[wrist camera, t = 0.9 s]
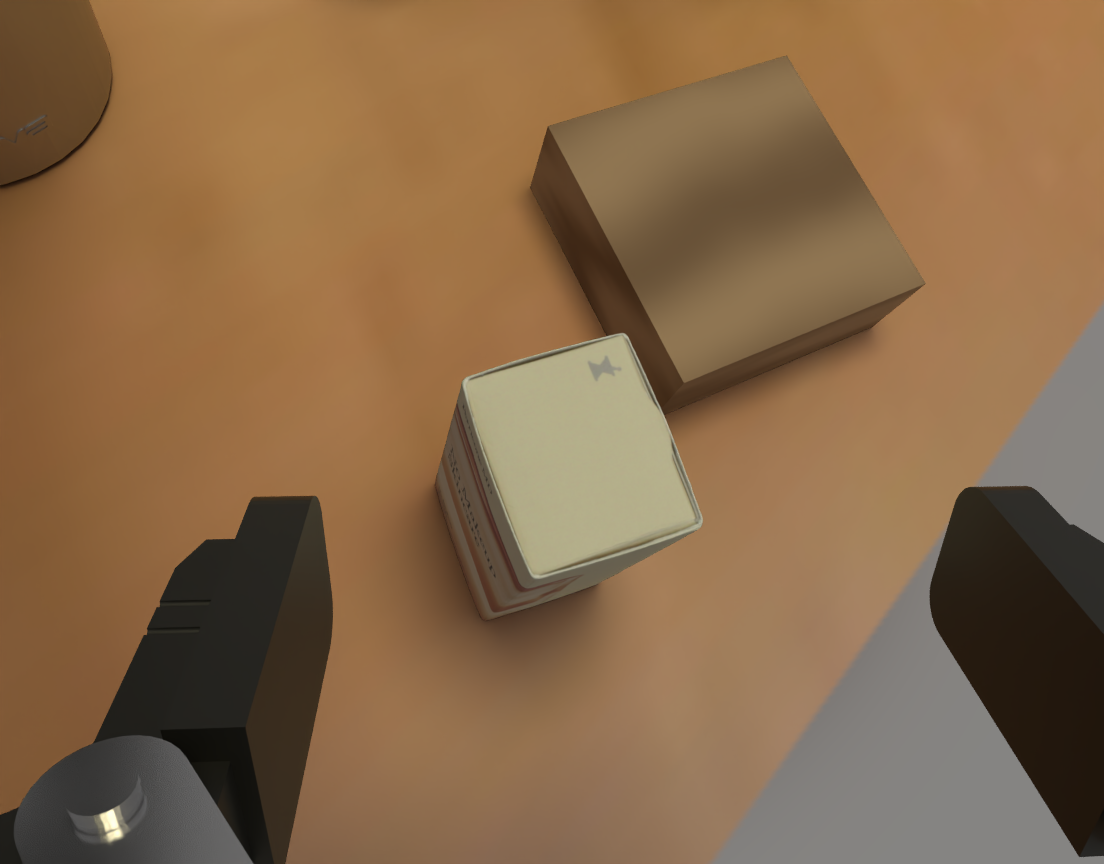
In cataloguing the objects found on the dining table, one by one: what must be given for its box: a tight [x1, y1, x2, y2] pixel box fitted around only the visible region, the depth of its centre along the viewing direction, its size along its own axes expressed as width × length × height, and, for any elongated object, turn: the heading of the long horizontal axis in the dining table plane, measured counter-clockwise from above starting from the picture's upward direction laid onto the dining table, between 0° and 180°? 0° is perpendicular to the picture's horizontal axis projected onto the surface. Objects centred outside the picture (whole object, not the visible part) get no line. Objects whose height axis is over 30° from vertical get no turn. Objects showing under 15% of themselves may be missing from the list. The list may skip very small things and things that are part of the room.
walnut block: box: [530, 56, 926, 415], centre depth 33 cm, size 10×10×4 cm
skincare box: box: [435, 333, 703, 620], centre depth 25 cm, size 5×4×10 cm
